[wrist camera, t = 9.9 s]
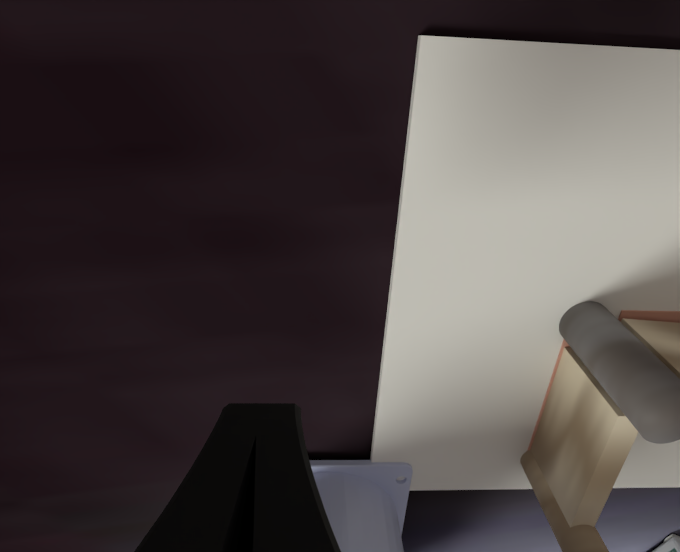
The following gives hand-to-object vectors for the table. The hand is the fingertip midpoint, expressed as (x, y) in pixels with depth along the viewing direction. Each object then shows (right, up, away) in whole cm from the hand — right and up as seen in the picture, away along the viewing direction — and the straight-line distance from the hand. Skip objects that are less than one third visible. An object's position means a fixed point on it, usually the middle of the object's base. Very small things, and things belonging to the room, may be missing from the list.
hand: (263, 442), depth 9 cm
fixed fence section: (+11, -2, +12) cm, 16 cm away
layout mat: (+13, +1, +11) cm, 17 cm away
